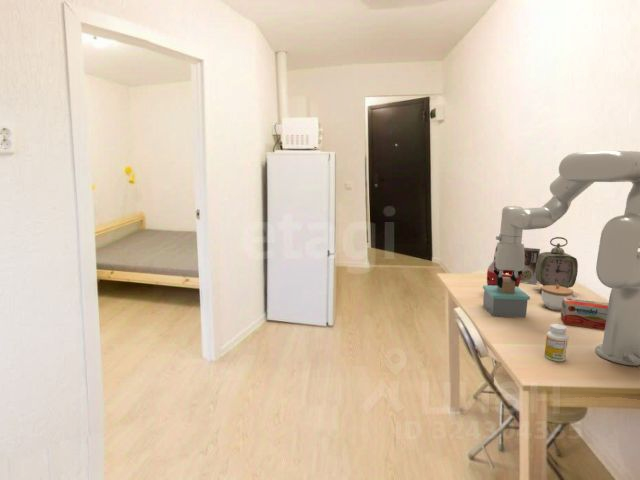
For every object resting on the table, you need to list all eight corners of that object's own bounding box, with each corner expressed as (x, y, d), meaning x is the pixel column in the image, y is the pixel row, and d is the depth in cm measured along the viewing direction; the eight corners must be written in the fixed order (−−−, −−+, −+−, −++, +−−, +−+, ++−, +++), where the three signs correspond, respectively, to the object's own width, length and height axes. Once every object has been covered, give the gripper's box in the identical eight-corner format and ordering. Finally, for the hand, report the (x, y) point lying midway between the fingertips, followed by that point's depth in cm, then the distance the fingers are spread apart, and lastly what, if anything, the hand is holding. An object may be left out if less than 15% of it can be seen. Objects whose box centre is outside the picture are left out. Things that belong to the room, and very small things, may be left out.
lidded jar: (575, 313, 162) (578, 289, 160) (544, 311, 164) (547, 287, 162) (564, 304, 172) (567, 282, 171) (536, 302, 174) (539, 280, 173)
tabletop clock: (538, 294, 185) (544, 238, 180) (531, 288, 194) (537, 234, 189) (574, 296, 182) (581, 239, 178) (566, 290, 191) (573, 235, 187)
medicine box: (607, 323, 153) (610, 302, 151) (613, 331, 145) (617, 309, 144) (559, 317, 158) (562, 296, 156) (563, 325, 150) (566, 303, 149)
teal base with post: (529, 303, 155) (531, 284, 154) (492, 301, 156) (494, 283, 155) (516, 292, 168) (518, 275, 167) (482, 291, 169) (484, 274, 168)
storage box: (525, 317, 157) (527, 299, 155) (492, 316, 158) (493, 298, 157) (514, 306, 168) (515, 289, 167) (483, 305, 170) (484, 288, 168)
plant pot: (486, 300, 176) (488, 272, 174) (484, 291, 188) (486, 265, 186) (520, 303, 172) (523, 275, 170) (516, 294, 185) (518, 267, 182)
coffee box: (537, 281, 205) (540, 248, 202) (535, 284, 200) (539, 251, 197) (516, 278, 210) (520, 246, 207) (514, 281, 205) (518, 248, 202)
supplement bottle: (551, 352, 128) (555, 321, 127) (569, 359, 124) (573, 327, 122) (540, 355, 126) (543, 324, 124) (557, 363, 121) (561, 331, 119)
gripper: (490, 240, 155) (486, 289, 158) (538, 242, 154) (532, 290, 157) (484, 237, 162) (480, 283, 166) (529, 238, 161) (524, 285, 164)
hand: (505, 286), depth 161 cm, fingers closed on teal base with post, 4 cm apart
